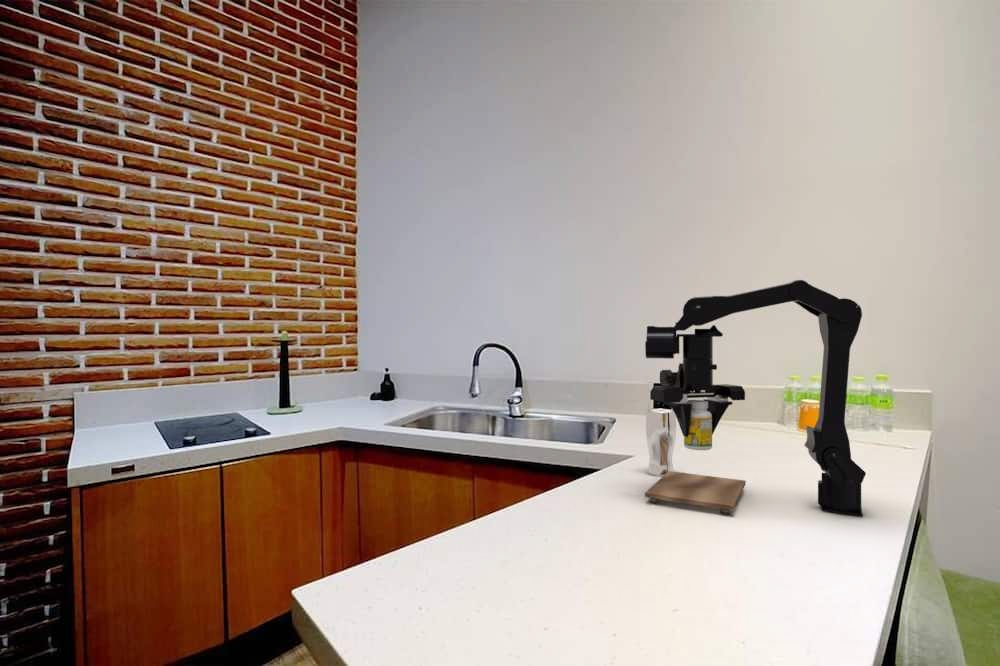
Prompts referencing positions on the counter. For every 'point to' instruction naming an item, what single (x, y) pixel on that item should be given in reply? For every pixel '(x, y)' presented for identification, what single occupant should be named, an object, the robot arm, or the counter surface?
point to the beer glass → (660, 440)
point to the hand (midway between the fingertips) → (697, 435)
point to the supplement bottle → (699, 427)
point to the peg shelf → (697, 490)
